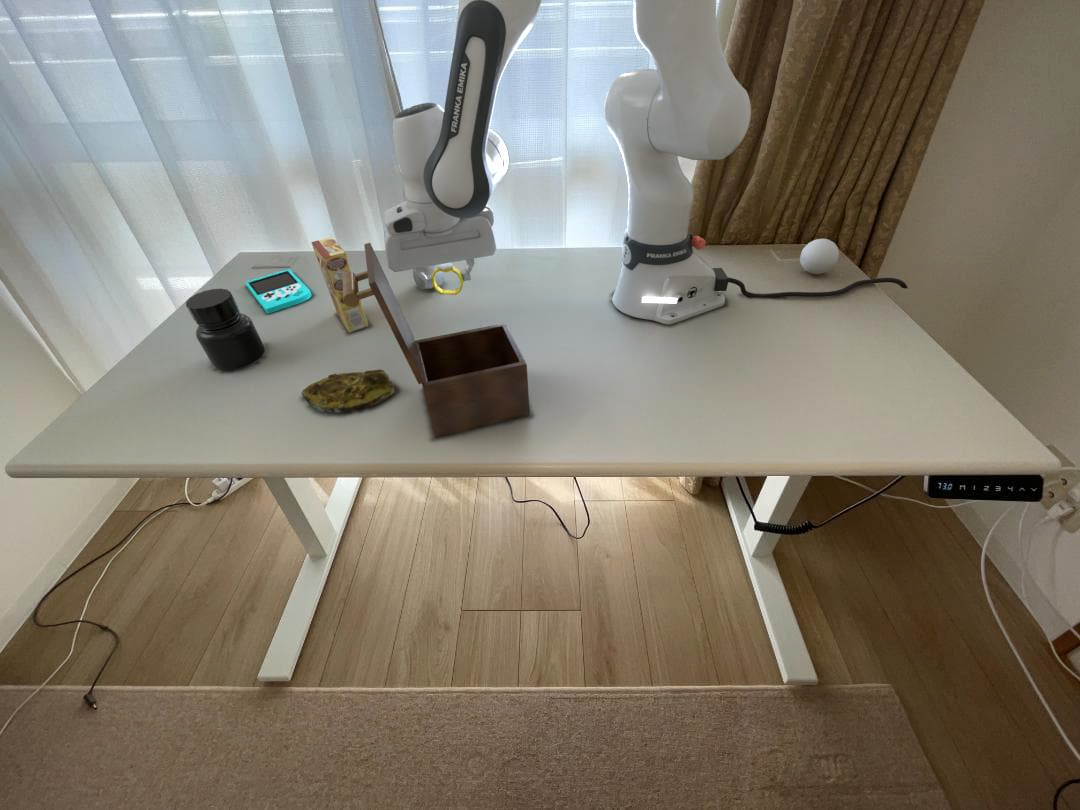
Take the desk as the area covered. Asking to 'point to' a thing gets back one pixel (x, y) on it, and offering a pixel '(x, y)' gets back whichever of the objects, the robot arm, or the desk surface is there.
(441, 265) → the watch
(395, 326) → the lid
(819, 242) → the white egg
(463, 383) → the chest
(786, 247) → the desk surface
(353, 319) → the candy box
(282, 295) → the handheld game console
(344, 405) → the mossy rock
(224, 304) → the ink bottle
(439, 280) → the plastic bottle
